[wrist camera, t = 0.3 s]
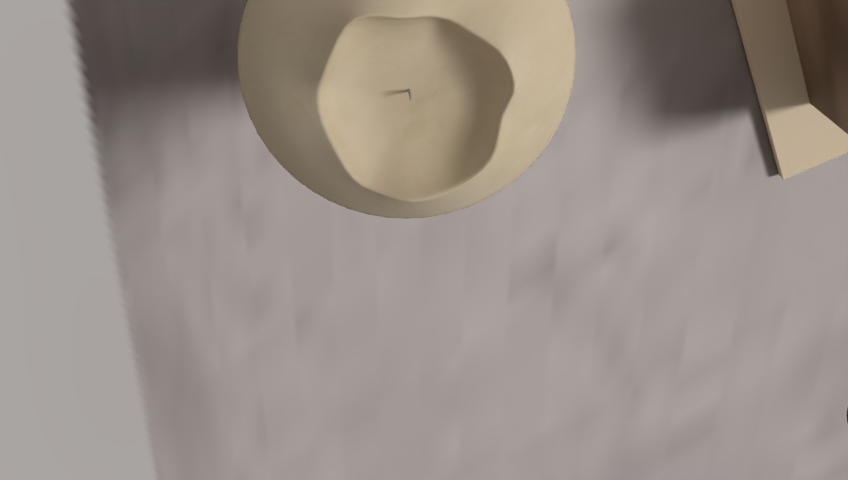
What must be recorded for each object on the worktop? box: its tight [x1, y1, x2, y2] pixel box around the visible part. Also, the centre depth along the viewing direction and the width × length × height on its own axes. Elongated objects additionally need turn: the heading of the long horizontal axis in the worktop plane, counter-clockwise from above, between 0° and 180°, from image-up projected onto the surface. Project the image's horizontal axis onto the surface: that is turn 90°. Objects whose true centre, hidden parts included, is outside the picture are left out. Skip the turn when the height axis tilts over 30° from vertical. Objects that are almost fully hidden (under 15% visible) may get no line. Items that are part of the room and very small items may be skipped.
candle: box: [237, 0, 576, 218], centre depth 15 cm, size 6×6×10 cm
